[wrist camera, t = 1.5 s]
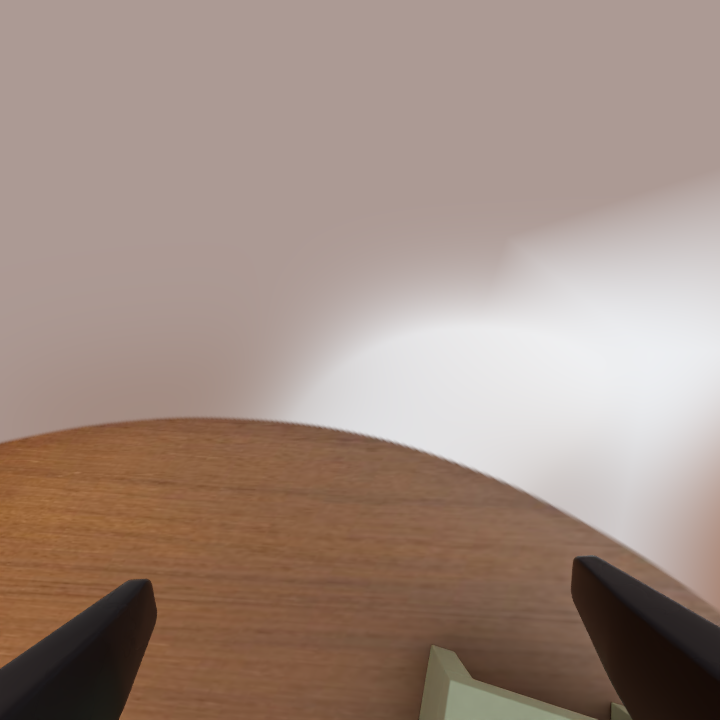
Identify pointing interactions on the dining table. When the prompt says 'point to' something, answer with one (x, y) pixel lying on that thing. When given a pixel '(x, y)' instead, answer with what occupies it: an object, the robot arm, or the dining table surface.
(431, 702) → the green box
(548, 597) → the dining table surface
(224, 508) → the dining table surface
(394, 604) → the dining table surface
